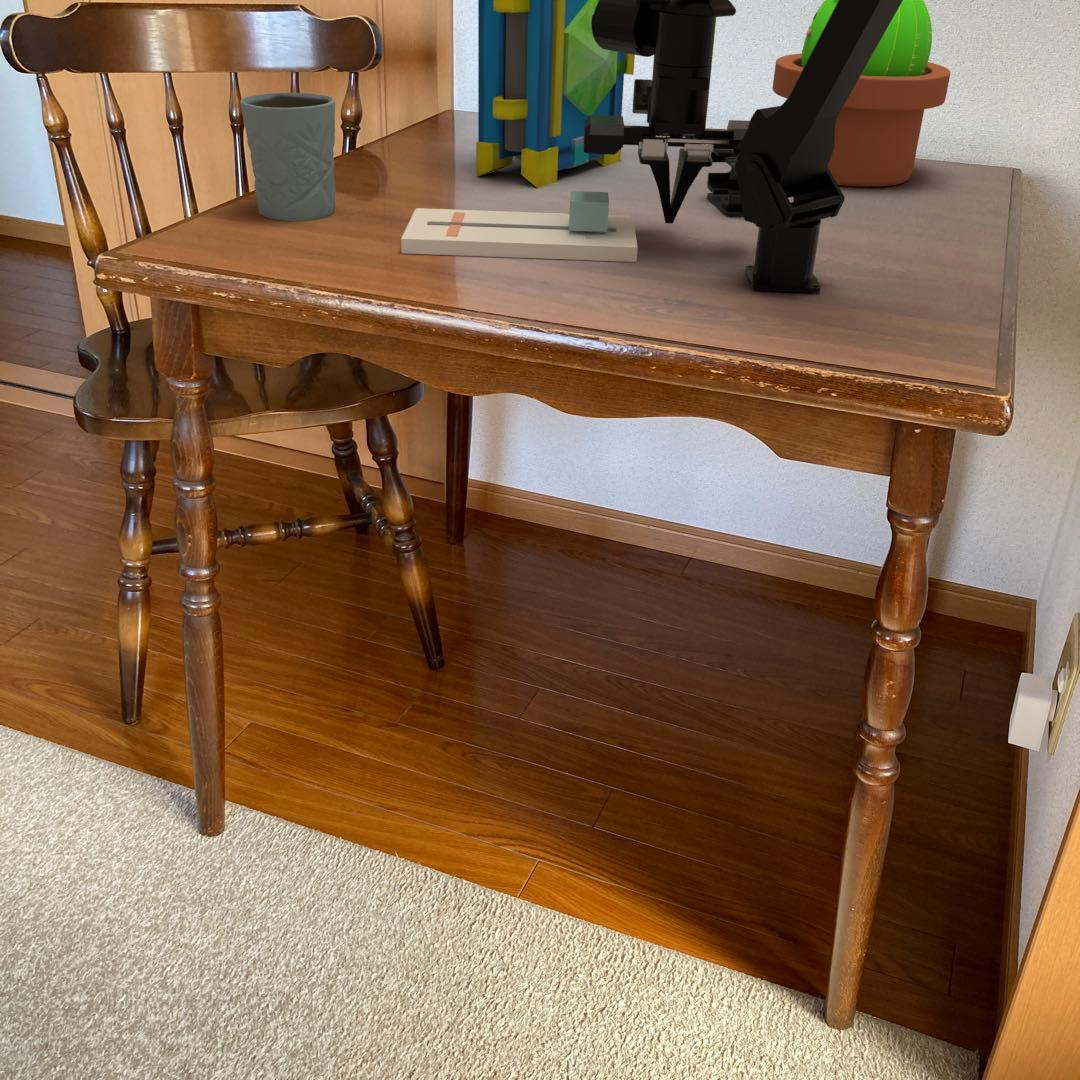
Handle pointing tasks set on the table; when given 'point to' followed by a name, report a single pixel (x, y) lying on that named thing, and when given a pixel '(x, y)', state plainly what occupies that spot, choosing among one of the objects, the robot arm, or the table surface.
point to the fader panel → (516, 236)
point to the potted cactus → (879, 98)
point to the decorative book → (542, 85)
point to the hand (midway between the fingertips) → (668, 222)
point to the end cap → (725, 185)
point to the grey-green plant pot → (292, 154)
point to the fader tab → (588, 211)
